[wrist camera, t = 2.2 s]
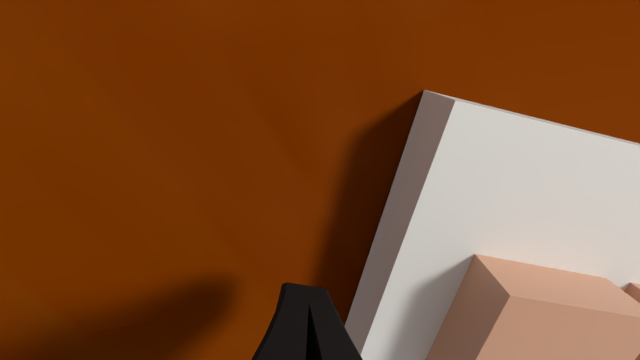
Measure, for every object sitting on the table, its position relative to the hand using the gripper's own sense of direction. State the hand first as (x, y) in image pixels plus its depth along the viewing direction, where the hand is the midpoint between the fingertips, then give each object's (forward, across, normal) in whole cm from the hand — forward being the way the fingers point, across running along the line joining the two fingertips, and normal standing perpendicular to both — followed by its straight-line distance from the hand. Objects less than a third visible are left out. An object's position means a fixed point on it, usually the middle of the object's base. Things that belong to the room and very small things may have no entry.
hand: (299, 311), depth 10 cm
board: (+3, -11, 0) cm, 11 cm away
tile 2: (+1, -8, 0) cm, 8 cm away
